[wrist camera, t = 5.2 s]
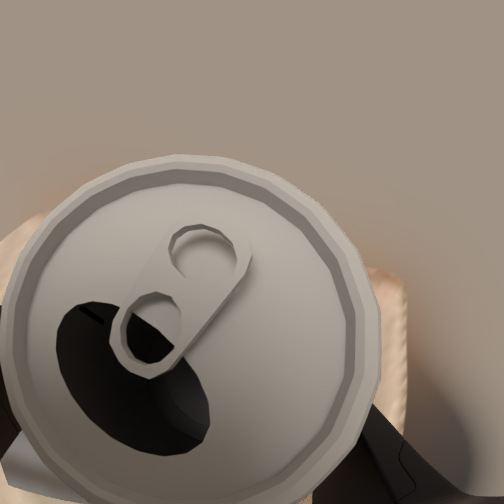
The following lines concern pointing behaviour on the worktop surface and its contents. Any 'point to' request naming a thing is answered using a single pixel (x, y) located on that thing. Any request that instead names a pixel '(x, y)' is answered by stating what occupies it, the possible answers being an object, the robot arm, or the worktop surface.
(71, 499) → the plinth
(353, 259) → the can
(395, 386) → the worktop surface
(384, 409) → the worktop surface
